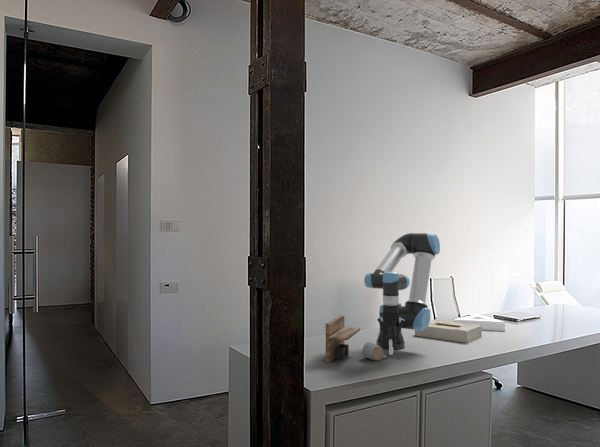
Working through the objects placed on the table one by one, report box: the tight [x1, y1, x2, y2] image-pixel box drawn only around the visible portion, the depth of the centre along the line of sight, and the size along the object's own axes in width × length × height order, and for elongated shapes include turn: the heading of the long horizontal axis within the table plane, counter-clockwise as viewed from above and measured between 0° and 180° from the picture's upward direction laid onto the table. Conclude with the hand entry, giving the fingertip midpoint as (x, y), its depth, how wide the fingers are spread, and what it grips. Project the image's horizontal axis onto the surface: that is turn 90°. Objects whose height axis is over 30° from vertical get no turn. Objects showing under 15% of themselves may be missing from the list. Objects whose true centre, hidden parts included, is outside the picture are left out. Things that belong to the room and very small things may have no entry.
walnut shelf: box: [325, 314, 361, 363], centre depth 238 cm, size 10×26×18 cm, turn 159°
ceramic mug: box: [362, 341, 387, 362], centre depth 234 cm, size 11×8×8 cm
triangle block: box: [453, 313, 506, 332], centre depth 317 cm, size 30×26×6 cm
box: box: [414, 319, 483, 344], centre depth 286 cm, size 23×8×32 cm
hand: (391, 353), depth 230 cm, fingers closed
